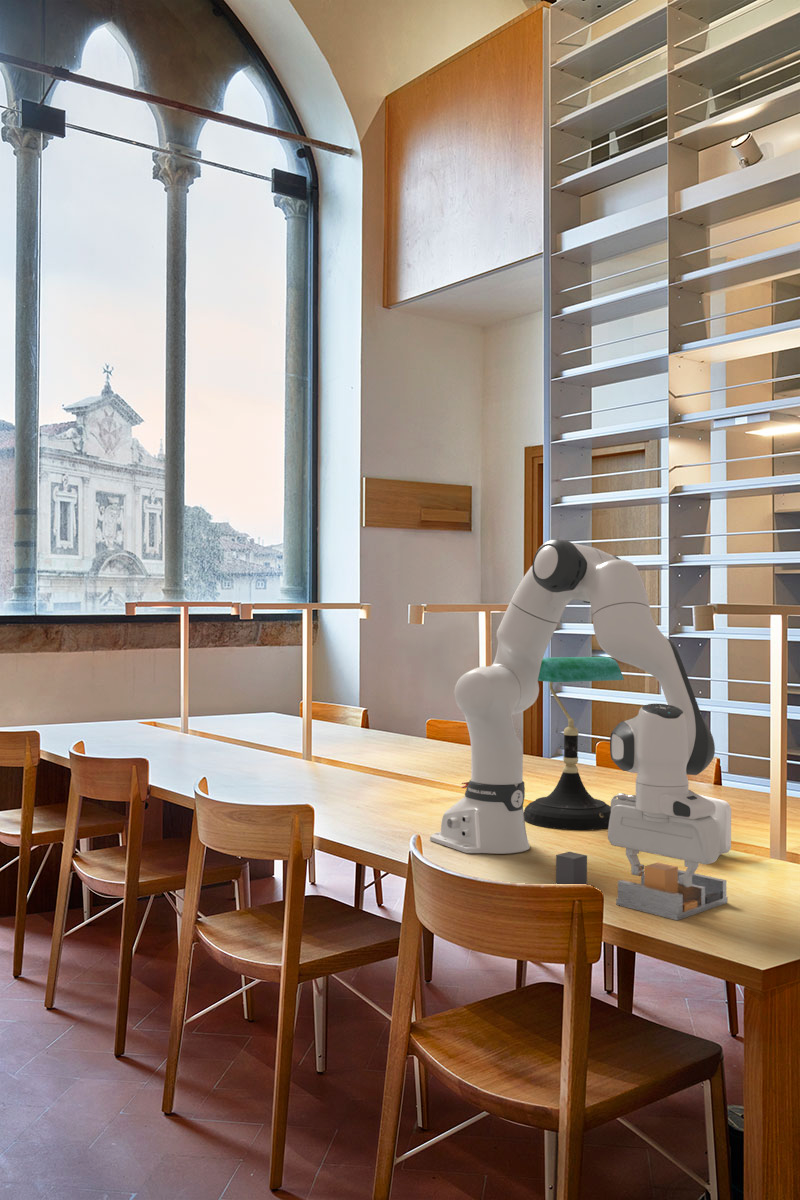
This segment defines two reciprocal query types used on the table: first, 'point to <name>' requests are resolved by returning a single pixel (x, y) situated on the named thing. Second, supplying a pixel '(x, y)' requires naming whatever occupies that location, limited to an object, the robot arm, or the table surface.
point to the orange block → (662, 877)
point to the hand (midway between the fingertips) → (661, 880)
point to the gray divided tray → (673, 897)
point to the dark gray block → (571, 868)
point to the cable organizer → (722, 823)
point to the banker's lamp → (572, 753)
